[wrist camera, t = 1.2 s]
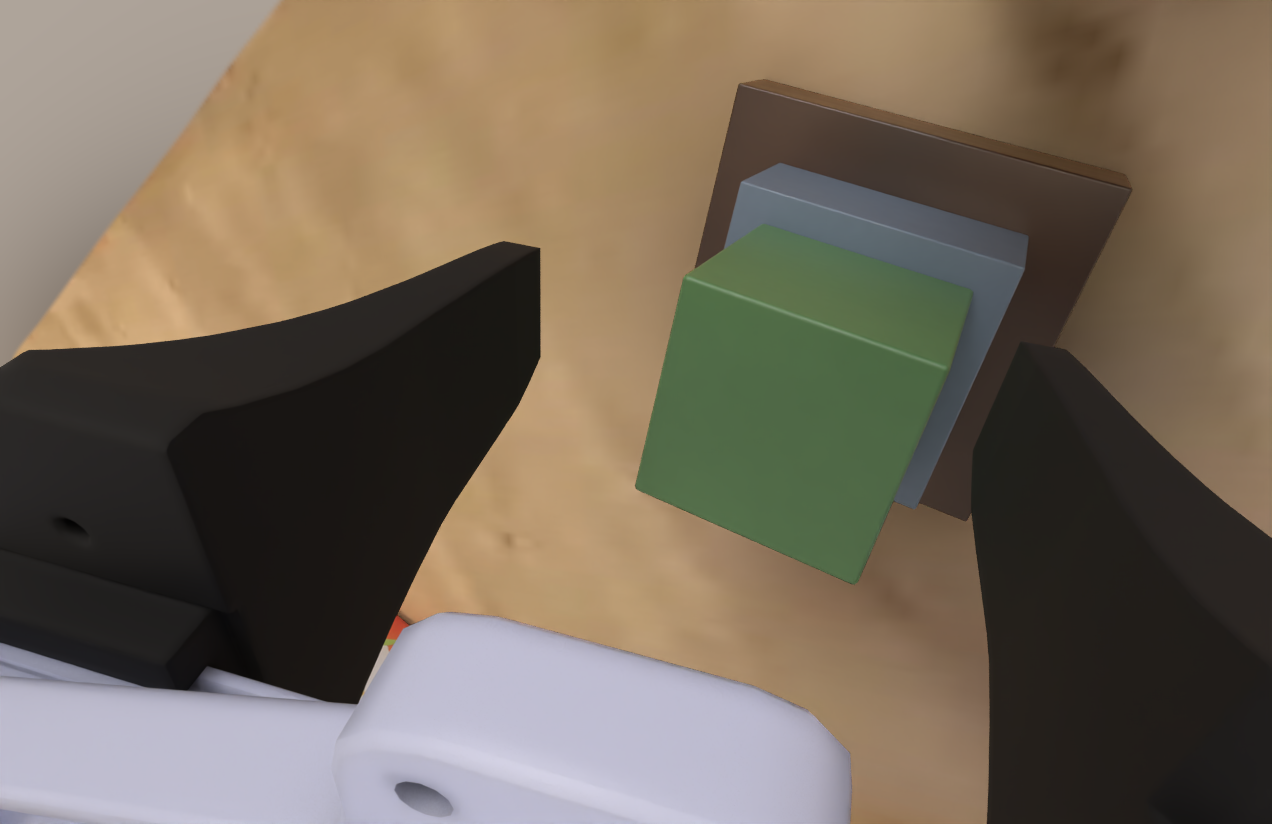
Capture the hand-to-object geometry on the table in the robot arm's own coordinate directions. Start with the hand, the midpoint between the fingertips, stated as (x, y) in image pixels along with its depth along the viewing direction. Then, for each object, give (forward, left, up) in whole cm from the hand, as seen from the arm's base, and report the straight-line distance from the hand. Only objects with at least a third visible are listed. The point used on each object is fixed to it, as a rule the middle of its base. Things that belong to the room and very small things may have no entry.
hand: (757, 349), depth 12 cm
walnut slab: (-2, +1, -11) cm, 11 cm away
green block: (-2, +1, -6) cm, 6 cm away
